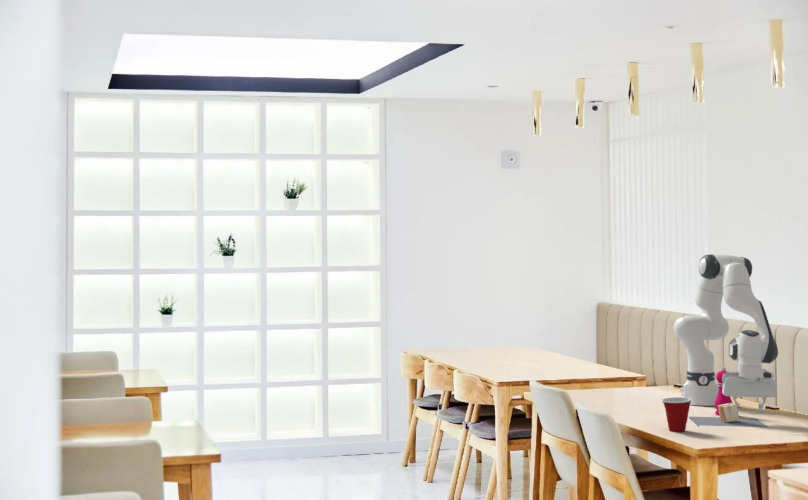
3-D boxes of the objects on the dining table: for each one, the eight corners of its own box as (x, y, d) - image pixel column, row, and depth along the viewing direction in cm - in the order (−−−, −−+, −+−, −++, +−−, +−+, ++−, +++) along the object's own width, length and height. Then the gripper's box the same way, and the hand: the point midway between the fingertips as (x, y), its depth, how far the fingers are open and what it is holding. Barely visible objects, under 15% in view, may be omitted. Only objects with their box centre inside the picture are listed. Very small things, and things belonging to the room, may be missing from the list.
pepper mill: (720, 417, 387) (721, 368, 387) (710, 414, 394) (710, 366, 394) (736, 417, 389) (736, 367, 389) (725, 414, 396) (726, 365, 396)
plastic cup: (658, 427, 362) (658, 396, 362) (687, 428, 362) (687, 396, 362) (664, 433, 351) (665, 400, 351) (694, 433, 351) (695, 400, 351)
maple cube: (736, 417, 377) (720, 420, 378) (732, 402, 377) (717, 405, 378) (739, 420, 371) (724, 422, 372) (736, 404, 371) (720, 407, 372)
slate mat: (688, 417, 386) (688, 416, 386) (755, 419, 383) (755, 418, 383) (698, 426, 366) (698, 425, 366) (768, 428, 363) (768, 427, 363)
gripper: (723, 372, 372) (723, 408, 372) (778, 374, 370) (778, 410, 370) (720, 371, 378) (720, 406, 378) (774, 372, 376) (773, 407, 376)
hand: (749, 408), depth 374 cm, fingers open, 7 cm apart
